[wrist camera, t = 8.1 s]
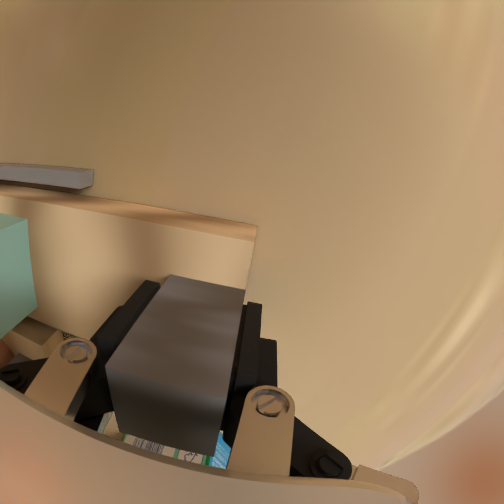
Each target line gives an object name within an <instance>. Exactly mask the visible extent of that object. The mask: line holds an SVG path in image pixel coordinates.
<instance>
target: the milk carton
mask: <svg viewBox="0 0 504 504" xmlns="http://www.w3.org/2000/svg"><path fill="white" fill-rule="evenodd" d="M222 437H223V435H222V434H221V433H220V431H219V436H218V441H217V445H216V450H215V455H214V457H211V456H206V455H201V454H196V453H192V452H187V451H183V450H179V449H175V448H171V447H168V446H164V445H161V444H157V443H154V442H150V441H147V440H144V439H141V438H138V437H135V436H132V435H129V434H126V433H125V434H124V436H123V438H122V440H121V441H122V442H125V443H127V444H130V445H133V446H136V447H139V448H142V449H145V450H149V451H152V452H155V453H159V454H162V455H166V456H169V457H173V458H177V459H181V460H185V461H189V462H193V463H198V464H203V465H208V466H213V467H218V468H224V469H225V468H226V465H227V461H228V458H229V454H230V450H231V448H230V447H229V446H228V445H227V444H226V443H225V442H224V441H223V439H222Z"/></svg>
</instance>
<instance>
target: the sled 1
mask: <svg viewBox="0 0 504 504" xmlns="http://www.w3.org/2000/svg"><path fill="white" fill-rule="evenodd" d="M2 340H3V341H4V342H5V343H6V344H7V346H8V347H9V349H10V350H11V352H12V353H13V355H14V358H13V359H12V360H11V361H10V362H9V363H8V364H13V363H19V362H25V361H31V360H37V359H43V358H48V357H50V356H51V354H52V353H53V351H54V350H55V349H56V347H57V346H58V345H59V344H60V343H61V342H62V341H64V338H63V333H62V331H60V330H58V329H55V328H53V327H51V326H48V325H46V324H44V323H42V322H39V321H37V320H35V319H33V318H31V317H29V316H26V317H25V318H24V319H23V320H22V321H21V322H19V323H18V324H17V325H16V326H15V327H14V328H13V329H11V330H10V331H9V332H8V333H7V334H6V335H5V336H4V337H3V338H2Z"/></svg>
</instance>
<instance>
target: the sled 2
mask: <svg viewBox="0 0 504 504" xmlns="http://www.w3.org/2000/svg"><path fill="white" fill-rule="evenodd" d="M0 213H4V214H8V215H12V216H17V217H21V218H25V219H28V236H29V248H30V259H31V267H32V275H33V282H34V288H35V294H36V300H37V305H38V307H37V308H36V309H35V310H34V311H32V312H31V313H30V314H29V316H31V317H33V318H35V319H37V320H40V321H42V322H44V323H46V324H49V325H51V326H53V327H56V328H58V329H60V330H63V331H65V332H68V333H70V334H73V335H75V336H78V337H81V338H85V339H87V340H90V338H91V337H92V336H93V335H94V334H95V332H96V331H97V330H98V329H99V328H100V327H101V325H102V324H103V323H104V322H105V321H106V320H107V318H108V317H109V316H110V315H111V314H112V313H113V311H114V310H115V309H116V308H117V307H118V306H123V305H124V304H125V302H126V301H127V300H128V299H129V298H130V297H131V296H132V294H133V293H134V292H135V291H136V290H137V289H138V288H139V286H140V285H141V284H142V283H143V282H144V281H145V280H150V281H154V282H159V283H160V287H161V288H160V289H159V291H158V292H157V293H156V295H155V296H154V297H153V299H152V300H151V301H150V303H149V304H148V305H147V307H146V308H145V310H144V311H143V312H142V314H141V315H140V316H139V318H138V319H137V321H136V322H135V323H134V325H133V326H132V328H131V329H130V330H129V332H128V333H127V335H126V336H125V338H124V339H123V340H122V342H121V343H120V345H119V346H118V348H117V349H116V350H115V352H114V353H113V355H112V356H111V358H110V359H109V361H108V362H107V364H106V365H105V368H106V374H107V380H108V385H109V390H110V394H111V399H112V404H113V408H114V412H115V416H116V420H117V424H118V428H119V431H120V432H123V433H126V434H129V435H132V436H135V437H138V438H141V439H144V440H147V441H150V442H154V443H157V444H161V445H164V446H168V447H171V448H175V449H179V450H183V451H187V452H192V453H196V454H201V455H206V456H211V457H214V455H215V450H216V445H217V441H218V436H219V431H220V427H221V422H222V418H223V413H224V408H225V404H226V399H227V393H228V387H229V382H230V376H231V370H232V364H233V359H234V353H235V347H236V341H237V336H238V330H239V324H240V318H241V312H242V307H243V301H244V295H245V289H246V284H247V280H248V275H249V270H250V265H251V260H252V255H253V250H254V245H255V239H256V233H257V226H255V225H250V224H245V223H240V222H234V221H229V220H224V219H219V218H213V217H208V216H203V215H197V214H192V213H186V212H180V211H175V210H169V209H163V208H158V207H152V206H146V205H140V204H134V203H128V202H122V201H116V200H110V199H103V198H97V197H91V196H84V195H77V194H71V193H64V192H57V191H50V190H43V189H36V188H28V187H21V186H13V185H5V184H0Z"/></svg>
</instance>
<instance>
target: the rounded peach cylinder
mask: <svg viewBox="0 0 504 504" xmlns="http://www.w3.org/2000/svg"><path fill="white" fill-rule="evenodd" d="M13 358H14V355H13V353H12V352H11V350H10V349H9V347H8V346H7V344H6V343H5V342H4V341H3V340H2V338H1V339H0V369H1V368H2V367H4V366H5V365H8V363H9V362H10V361H11V360H12V359H13Z"/></svg>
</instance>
